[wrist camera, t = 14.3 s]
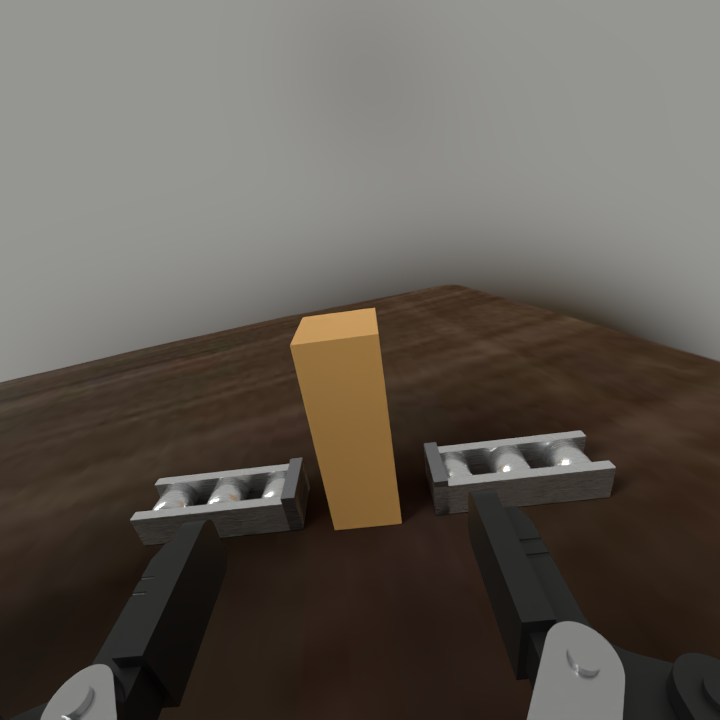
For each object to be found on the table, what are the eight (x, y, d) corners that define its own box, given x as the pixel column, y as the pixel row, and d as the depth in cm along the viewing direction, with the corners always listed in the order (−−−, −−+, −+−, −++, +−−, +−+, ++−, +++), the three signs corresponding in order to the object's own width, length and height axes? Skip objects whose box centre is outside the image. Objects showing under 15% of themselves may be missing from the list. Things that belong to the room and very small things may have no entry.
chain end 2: (436, 515, 21) (434, 482, 20) (425, 474, 24) (423, 443, 23) (609, 497, 20) (617, 462, 19) (576, 457, 23) (581, 425, 22)
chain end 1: (144, 545, 22) (127, 515, 21) (170, 502, 25) (156, 474, 24) (303, 529, 21) (294, 497, 20) (310, 486, 24) (302, 457, 23)
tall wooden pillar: (334, 530, 21) (290, 345, 16) (338, 474, 25) (304, 314, 20) (401, 523, 21) (378, 333, 16) (394, 468, 25) (374, 304, 20)
